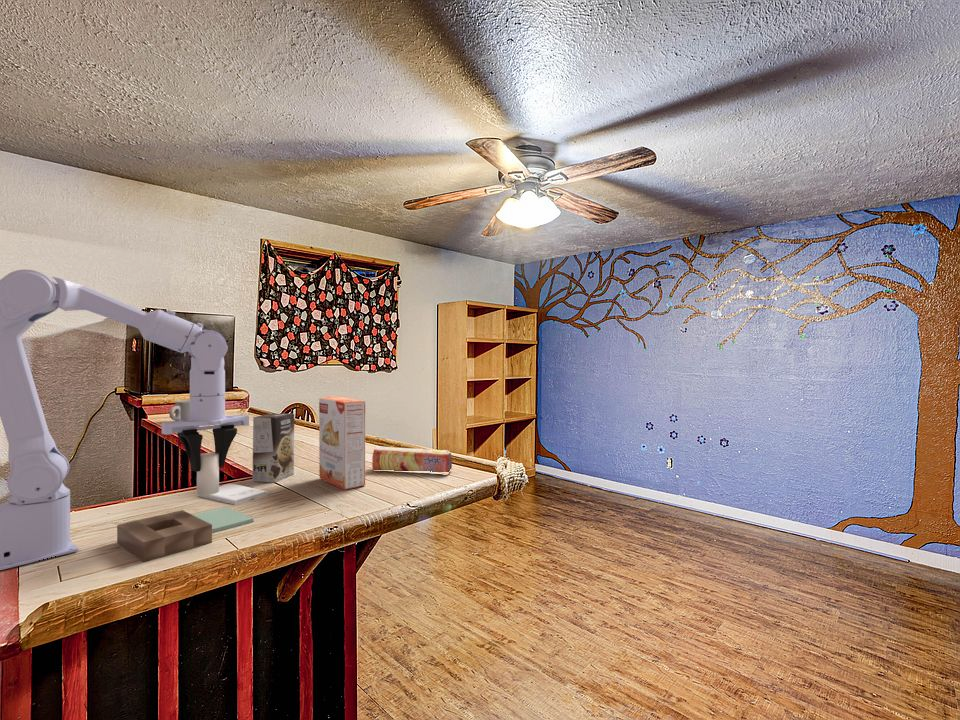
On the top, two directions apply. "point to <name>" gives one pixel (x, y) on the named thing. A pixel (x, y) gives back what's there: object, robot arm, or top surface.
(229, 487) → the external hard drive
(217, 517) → the mat
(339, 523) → the top surface
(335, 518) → the top surface
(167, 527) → the brown socket block
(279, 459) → the coffee box
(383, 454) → the snack package
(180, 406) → the coffee mug
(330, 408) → the cracker box
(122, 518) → the top surface
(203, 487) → the plug
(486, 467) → the top surface
